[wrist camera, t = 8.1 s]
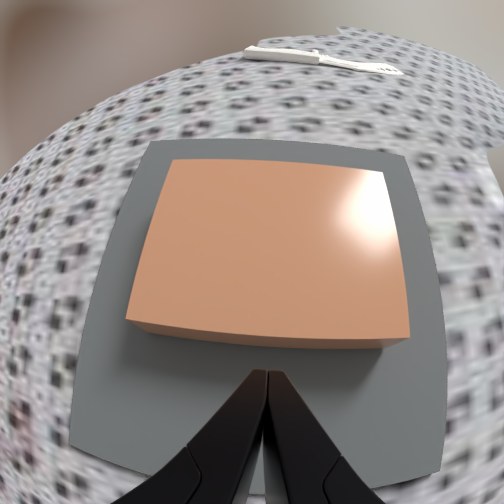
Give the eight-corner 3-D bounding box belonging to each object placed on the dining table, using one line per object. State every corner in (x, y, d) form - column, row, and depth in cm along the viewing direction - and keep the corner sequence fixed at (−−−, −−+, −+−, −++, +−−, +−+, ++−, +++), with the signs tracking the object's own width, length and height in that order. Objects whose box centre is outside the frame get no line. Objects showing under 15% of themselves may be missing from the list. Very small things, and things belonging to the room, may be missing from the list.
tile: (410, 337, 11) (382, 172, 15) (125, 318, 12) (172, 159, 16) (384, 348, 13) (368, 201, 18) (148, 333, 14) (182, 190, 19)
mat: (434, 469, 10) (439, 470, 9) (74, 443, 11) (69, 444, 11) (401, 160, 21) (404, 156, 21) (152, 146, 22) (150, 141, 22)
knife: (422, 76, 34) (424, 69, 32) (439, 93, 31) (442, 86, 30) (242, 54, 33) (242, 44, 31) (244, 68, 30) (244, 57, 28)
